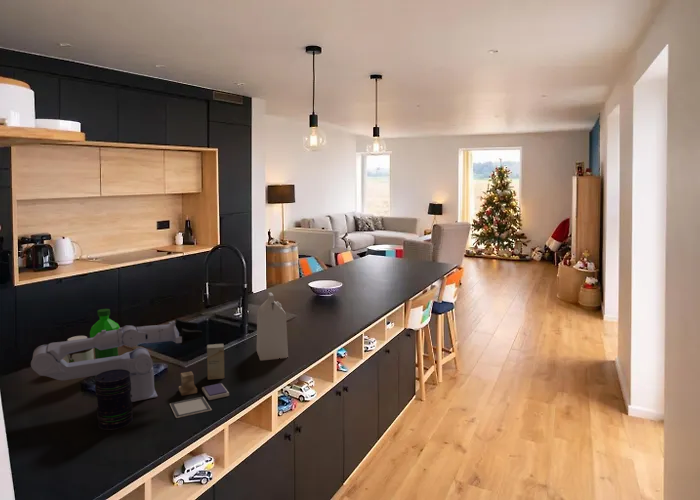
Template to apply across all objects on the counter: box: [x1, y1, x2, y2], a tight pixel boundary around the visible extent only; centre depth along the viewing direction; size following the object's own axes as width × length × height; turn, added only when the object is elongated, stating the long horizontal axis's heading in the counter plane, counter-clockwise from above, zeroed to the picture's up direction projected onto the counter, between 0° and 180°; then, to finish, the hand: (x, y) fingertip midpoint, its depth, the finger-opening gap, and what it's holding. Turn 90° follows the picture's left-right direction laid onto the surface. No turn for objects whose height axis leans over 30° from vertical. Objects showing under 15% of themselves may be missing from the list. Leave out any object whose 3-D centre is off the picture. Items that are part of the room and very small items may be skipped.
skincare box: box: [206, 343, 225, 381], centre depth 189 cm, size 6×4×12 cm
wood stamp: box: [178, 371, 198, 396], centre depth 177 cm, size 5×5×6 cm
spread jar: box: [63, 335, 95, 363], centre depth 197 cm, size 12×11×12 cm
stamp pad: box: [201, 382, 230, 401], centre depth 176 cm, size 7×9×2 cm
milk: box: [256, 292, 289, 361], centre depth 212 cm, size 12×12×26 cm
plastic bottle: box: [89, 308, 121, 359], centre depth 190 cm, size 10×10×25 cm
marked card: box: [169, 396, 213, 419], centre depth 165 cm, size 11×11×1 cm
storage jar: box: [94, 369, 134, 431], centre depth 154 cm, size 10×10×15 cm
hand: (199, 329), depth 180 cm, fingers open, 7 cm apart
